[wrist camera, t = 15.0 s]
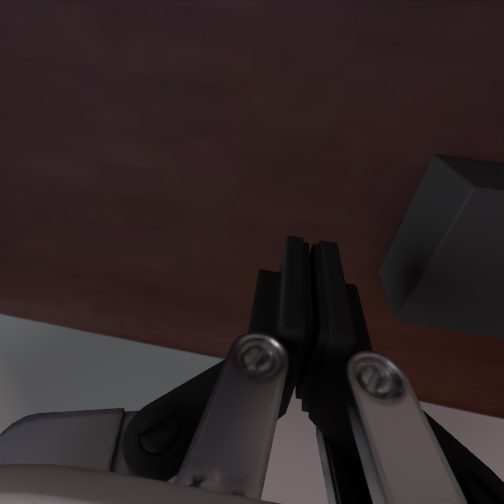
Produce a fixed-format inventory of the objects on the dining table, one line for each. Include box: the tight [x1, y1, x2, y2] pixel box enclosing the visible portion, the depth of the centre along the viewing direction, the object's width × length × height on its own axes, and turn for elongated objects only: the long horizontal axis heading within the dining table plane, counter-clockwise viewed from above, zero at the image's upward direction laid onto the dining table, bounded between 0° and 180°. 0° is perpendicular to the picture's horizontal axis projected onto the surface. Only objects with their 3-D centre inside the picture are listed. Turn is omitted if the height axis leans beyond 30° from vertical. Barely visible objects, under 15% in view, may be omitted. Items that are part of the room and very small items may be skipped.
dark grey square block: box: [378, 155, 504, 339], centre depth 13 cm, size 6×6×4 cm
